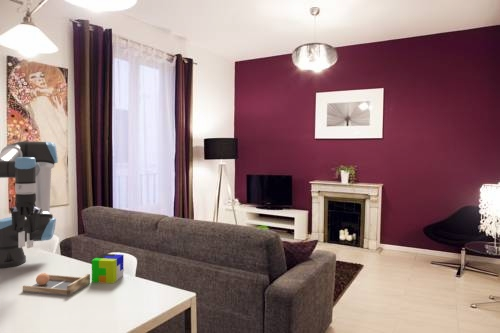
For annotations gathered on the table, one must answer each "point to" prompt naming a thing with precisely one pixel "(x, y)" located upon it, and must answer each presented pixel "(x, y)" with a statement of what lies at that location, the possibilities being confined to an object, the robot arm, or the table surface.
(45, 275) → the ball
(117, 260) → the puzzle toy
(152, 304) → the table surface
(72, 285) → the divided wooden tray
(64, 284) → the tray
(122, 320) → the table surface
